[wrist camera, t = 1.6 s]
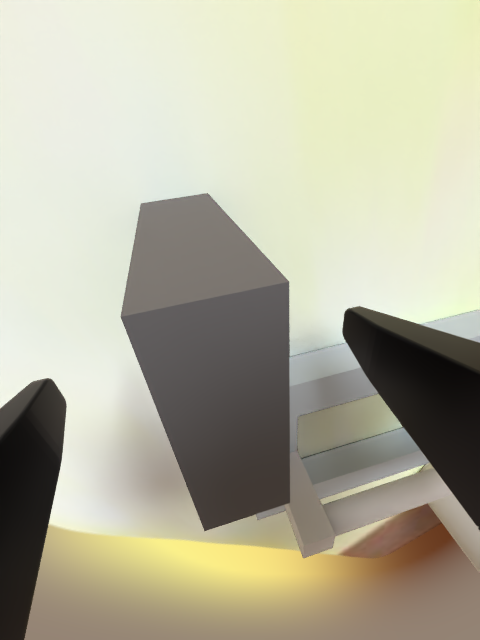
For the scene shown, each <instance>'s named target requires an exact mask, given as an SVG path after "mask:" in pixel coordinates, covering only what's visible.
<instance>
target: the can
mask: <svg viewBox="0 0 480 640" xmlns="http://www.w3.org/2000/svg"><path fill="white" fill-rule="evenodd" d="M431 468H433V466H432V465H431V464H430V463H427V464H426V465H424V467H423V468H422V469H421V471H420V472H422V471H425V470H428V469H431ZM428 505H429V506H430V507H431V509H432V510H433V511H434V513H435V514H436V515H437V517H438V518H439V519H440V521H441V522H442V523H443V525H444V526H445V527H446V529H447V530H448V531H449V533H450V534H451V535H452V537H453V538H454V540H455V541H456V542H457V543H458V545H459V546H460V548H461V549H462V550H463V552H464V553H465V554H466V556H467V557H468V558H469V560H470V561H471V562H472V564H473V565H474V566H475V568H476V569H477V570H478V572H479V573H480V530H479V529H478V526H476V525H475V523H474V522H473V521H472V519H471V518H470V517H469V515H468V514H467V512H466V511H465V510H464V508H463V507H462V506H461V504H460V503H459V502H458V500H457V499H456V498H455V496H454V495H453V494H452V495H449V496H447V497H444V498H441V499H438V500H436V501H433V502H430V503H428Z"/></svg>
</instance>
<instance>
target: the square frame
mask: <svg viewBox="0 0 480 640" xmlns="http://www.w3.org/2000/svg"><path fill="white" fill-rule="evenodd" d="M420 325H423V326H426V327H430V328H433V329H436V330H440V331H443V332H446V333H450V334H453V335H456V336H459V337H463V338H466V339H469V340H473V341H476V342H479V343H480V310H476V311H472V312H468V313H464V314H460V315H456V316H452V317H448V318H444V319H440V320H436V321H432V322H428V323H424V324H420ZM289 378H290V503H288V504H285V505H282V506H279V507H276V508H273V509H270V510H267V511H264V512H261V513H258V514H256V517H257V520H259V519H262V518H265V517H268V516H271V515H274V514H277V513H280V512H283V511H287V514H288V517H289V520H290V523H291V525H292V528H293V531H294V534H295V537H296V539H297V542H298V545H299V548H300V551H301V554H302V556H303V558H306V557H308V556H311V555H314V554H317V553H319V552H322V551H325V550H328V549H331V548H333V543H334V539H335V536H338V535H340V534H343V533H346V532H349V531H352V530H354V529H357V528H360V527H363V526H366V525H368V524H371V523H374V522H377V521H380V520H382V519H385V518H388V517H391V516H394V515H396V514H399V513H402V512H405V511H408V510H410V509H413V508H416V507H419V506H422V505H424V504H427V503H430V502H433V501H436V500H438V499H441V498H444V497H447V496H449V495H452V494H453V493H452V492H451V491H450V489H449V488H448V487H447V485H446V484H445V483H444V481H443V480H442V479H441V477H440V476H439V475H438V473H437V472H436V470H435V469H434V468H431V469H428V470H425V471H422V472H419V473H416V474H413V475H410V476H407V477H404V478H401V479H398V480H395V481H392V482H389V483H386V484H383V485H380V486H377V487H374V488H371V489H368V490H365V491H362V492H359V493H356V494H353V495H350V496H347V497H345V498H342V499H339V500H336V501H333V502H330V503H327V504H324V505H322V504H321V502H320V500H319V499H322V498H325V497H328V496H331V495H334V494H337V493H340V492H343V491H346V490H349V489H352V488H355V487H358V486H361V485H364V484H367V483H370V482H373V481H376V480H379V479H382V478H385V477H388V476H391V475H394V474H397V473H400V472H403V471H406V470H409V469H412V468H415V467H418V466H421V465H424V464H427V463H430V462H429V461H428V460H427V458H426V457H425V456H424V454H423V453H422V451H421V450H420V449H419V447H418V446H417V445H416V443H415V442H414V441H413V439H412V438H411V437H410V435H409V434H408V432H407V431H406V430H405V428H404V427H403V428H400V429H397V430H394V431H390V432H387V433H384V434H381V435H377V436H374V437H371V438H368V439H364V440H361V441H358V442H355V443H351V444H348V445H345V446H342V447H338V448H335V449H332V450H329V451H325V452H322V453H319V454H316V455H312V456H309V457H306V458H303V459H301V458H300V456H299V454H298V452H297V429H298V416H301V415H305V414H309V413H312V412H316V411H319V410H323V409H326V408H330V407H333V406H337V405H340V404H344V403H347V402H351V401H354V400H358V399H361V398H365V397H368V396H372V395H375V394H379V393H378V392H377V390H376V389H375V388H374V386H373V385H372V384H371V382H370V381H369V379H368V378H367V376H366V375H365V373H364V372H363V370H362V368H361V367H360V365H359V363H358V361H357V360H356V358H355V356H354V354H353V353H352V351H351V349H350V348H349V346H348V344H347V343H344V344H340V345H336V346H332V347H328V348H324V349H320V350H316V351H312V352H308V353H304V354H300V355H296V356H292V357H289Z"/></svg>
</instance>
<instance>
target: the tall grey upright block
mask: <svg viewBox="0 0 480 640" xmlns="http://www.w3.org/2000/svg"><path fill="white" fill-rule="evenodd" d="M121 319H122V321H123V324H124V326H125V329H126V331H127V334H128V337H129V339H130V342H131V344H132V347H133V349H134V352H135V354H136V357H137V360H138V362H139V365H140V367H141V370H142V372H143V375H144V377H145V380H146V383H147V385H148V388H149V390H150V393H151V395H152V398H153V400H154V403H155V405H156V408H157V411H158V413H159V416H160V418H161V421H162V423H163V426H164V428H165V431H166V434H167V436H168V439H169V441H170V444H171V446H172V449H173V451H174V454H175V457H176V459H177V462H178V464H179V467H180V469H181V472H182V474H183V477H184V480H185V482H186V485H187V487H188V490H189V492H190V495H191V497H192V500H193V502H194V505H195V508H196V510H197V513H198V515H199V518H200V520H201V523H202V525H203V528H204V531H206V530H209V529H212V528H215V527H218V526H222V525H225V524H228V523H231V522H234V521H237V520H240V519H243V518H246V517H249V516H252V515H255V514H258V513H261V512H264V511H267V510H270V509H273V508H276V507H279V506H282V505H285V504H288V503H290V378H289V281H288V280H287V279H286V278H285V277H284V276H283V275H282V273H281V272H280V271H279V270H278V269H277V268H276V267H275V266H274V265H273V264H272V263H271V262H270V260H269V259H268V258H267V257H266V256H265V255H264V254H263V253H262V252H261V251H260V250H259V249H258V247H257V246H256V245H255V244H254V243H253V242H252V241H251V240H250V239H249V238H248V237H247V236H246V234H245V233H244V232H243V231H242V230H241V229H240V228H239V227H238V226H237V225H236V224H235V223H234V221H233V220H232V219H231V218H230V217H229V216H228V215H227V214H226V213H225V212H224V211H223V210H222V208H221V207H220V206H219V205H218V204H217V203H216V202H215V201H214V200H213V199H212V198H211V196H210V195H209V194H208V193H207V194H201V195H194V196H188V197H181V198H175V199H168V200H162V201H155V202H148V203H142V204H141V206H140V212H139V218H138V223H137V229H136V234H135V240H134V245H133V251H132V257H131V262H130V268H129V273H128V279H127V285H126V290H125V296H124V301H123V307H122V312H121Z"/></svg>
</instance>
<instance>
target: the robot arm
mask: <svg viewBox="0 0 480 640" xmlns="http://www.w3.org/2000/svg"><path fill="white" fill-rule="evenodd" d="M342 332H343V337H344V339H345V341H346V342H347V344H348V346H349V348H350V349H351V351H352V353H353V354H354V356H355V358H356V360H357V361H358V363H359V365H360V367H361V368H362V370H363V372H364V373H365V375H366V376H367V378H368V379H369V381H370V382H371V384H372V385H373V386H374V388H375V389H376V390H377V392H378V393H379V395H380V396H381V397H382V399H383V400H384V401H385V403H386V404H387V405H388V407H389V408H390V409H391V411H392V412H393V414H394V415H395V416H396V418H397V419H398V420H399V422H400V423H401V424H402V426H403V427H404V428H405V430H406V431H407V432H408V434H409V435H410V437H411V438H412V439H413V441H414V442H415V443H416V445H417V446H418V447H419V449H420V450H421V451H422V453H423V454H424V456H425V457H426V458H427V460H428V461H429V462H430V464H431V465H432V466H433V468H434V469H435V470H436V472H437V473H438V475H439V476H440V477H441V479H442V480H443V481H444V483H445V484H446V485H447V487H448V488H449V489H450V491H451V492H452V493H453V495H454V496H455V498H456V499H457V500H458V502H459V503H460V504H461V506H462V507H463V508H464V510H465V511H466V512H467V514H468V515H469V517H470V518H471V519H472V521H473V522H474V523H475V525H476V526H478V529H479V530H480V343H479V342H476V341H473V340H469V339H466V338H463V337H459V336H456V335H453V334H450V333H446V332H443V331H440V330H436V329H433V328H430V327H426V326H423V325H420V324H416V323H413V322H410V321H407V320H403V319H400V318H397V317H393V316H390V315H387V314H383V313H380V312H377V311H373V310H370V309H367V308H364V307H360V306H358V307H353V308H349V309H347V310H346V311H345V314H344V322H343V331H342ZM65 418H66V401H65V398H64V397H63V395H62V394H61V392H60V390H59V389H58V387H57V386H56V384H55V383H54V381H53V380H52V379H49V378H46V379H41V380H37V381H33V382H31V383H30V384H29V385H28V386H26V387H25V388H24V389H23V390H22V391H21V392H19V393H18V394H17V395H16V396H15V397H13V398H12V399H11V400H10V401H9V402H8V403H6V404H5V405H4V406H3V407H2V408H0V640H24V638H25V633H26V629H27V624H28V619H29V614H30V609H31V605H32V600H33V595H34V590H35V586H36V581H37V576H38V571H39V567H40V562H41V557H42V552H43V548H44V543H45V538H46V533H47V528H48V524H49V519H50V514H51V509H52V505H53V500H54V495H55V490H56V486H57V481H58V476H59V471H60V466H61V460H62V452H63V441H64V430H65Z"/></svg>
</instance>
